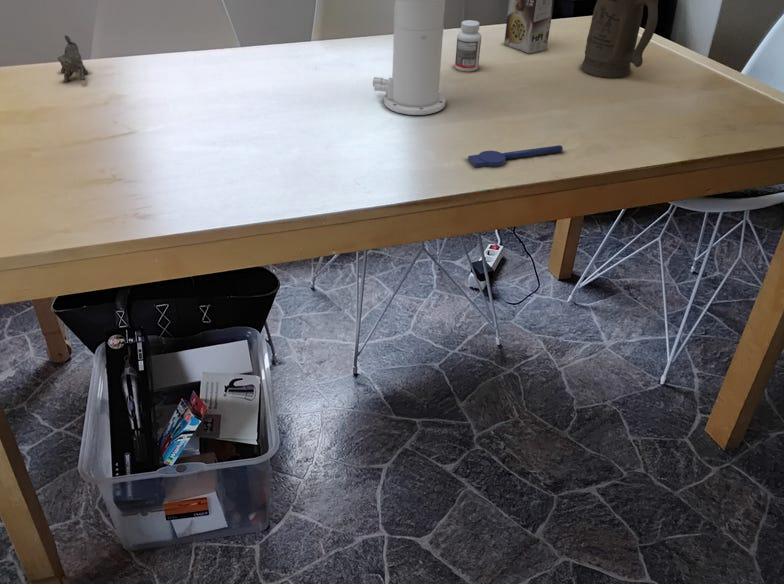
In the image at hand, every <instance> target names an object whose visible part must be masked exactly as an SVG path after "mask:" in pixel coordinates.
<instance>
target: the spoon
mask: <svg viewBox="0 0 784 584" xmlns="http://www.w3.org/2000/svg"><path fill="white" fill-rule="evenodd" d="M563 149H564V148H563V146H562V145H560V144H559V145H552V146H544V147H537V148H530V149H528V148H527V149H522V150H514V151H507V152H500V151H498V150H484V151H483V150H482V151H481V152H479V153H478V154H472V155H468V156H467V161H468V163H470V165H472V166H473V167H474V168H480V167H489V168H498V167H502V166H504V165H505V164H506V160H512V159H520V158H526V157H534V156H540V155H548V154H556V153H561V152H562V151H563Z"/></svg>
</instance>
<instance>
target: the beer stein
mask: <svg viewBox="0 0 784 584" xmlns="http://www.w3.org/2000/svg"><path fill="white" fill-rule="evenodd" d="M644 6H646V7H647V20H646V24H645V27H644V30H643V32H642V35H641V37H640V40H639V41H638V37H639V32H640V28H641V24H642V21H643V20H642V19H643V16H644ZM658 6H659V0H596V3H595V6H594V8H593V11H592V12H593V13H592V16H591V21H590V26H589V32H588V34H587V38H586V43H585V44H586V45H585V50H584V59H583V61H582V63H581V69H582V70H583V71H584V72H585V73H587V74H589V75H592V76H595V77H599V78H608V79H617V78H622V77H625V76H627V75H628V74H629V73H630V72H631V64H633V65H634V67H636V68H640V67H642V65H643V62H644V61H643V53H644V51H645V49H647V47H648V44H649V43H650V42H651V41H652V38H653V36H654V33H655V31H656V28H657V25H658V16H659V8H658ZM637 41H638V43H637Z"/></svg>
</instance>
